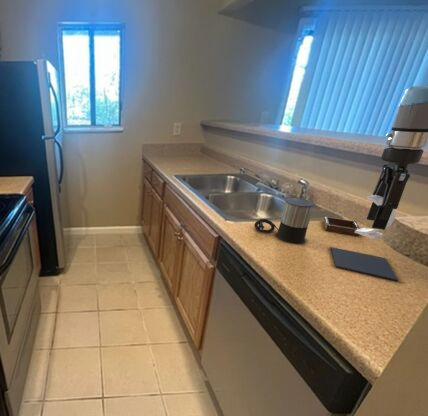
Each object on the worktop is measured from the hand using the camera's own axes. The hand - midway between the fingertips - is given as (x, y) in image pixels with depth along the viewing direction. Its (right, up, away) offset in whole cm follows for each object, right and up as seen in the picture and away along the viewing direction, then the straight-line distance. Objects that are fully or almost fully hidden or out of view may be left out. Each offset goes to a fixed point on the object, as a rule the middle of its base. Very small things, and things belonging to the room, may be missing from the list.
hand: (375, 223), depth 83 cm
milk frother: (-14, -6, +25) cm, 29 cm away
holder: (+14, -4, +29) cm, 32 cm away
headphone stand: (0, -4, +2) cm, 4 cm away
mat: (0, -13, +5) cm, 14 cm away
